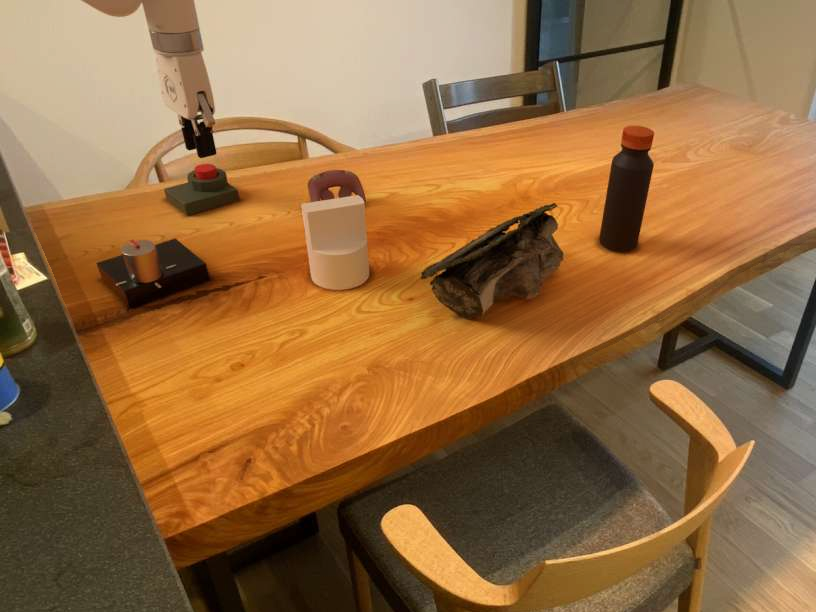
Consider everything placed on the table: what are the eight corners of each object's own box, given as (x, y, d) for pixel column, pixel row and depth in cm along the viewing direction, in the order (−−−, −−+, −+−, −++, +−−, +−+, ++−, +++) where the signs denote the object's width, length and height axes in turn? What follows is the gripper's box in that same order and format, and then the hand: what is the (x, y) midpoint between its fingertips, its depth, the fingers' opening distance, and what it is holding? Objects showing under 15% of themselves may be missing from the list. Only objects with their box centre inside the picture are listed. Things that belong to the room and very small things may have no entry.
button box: (187, 215, 121) (181, 194, 118) (165, 199, 125) (160, 178, 123) (241, 200, 127) (237, 179, 124) (219, 185, 131) (214, 164, 128)
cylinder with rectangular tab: (320, 294, 104) (311, 222, 96) (304, 266, 110) (294, 195, 102) (377, 282, 107) (372, 211, 100) (358, 255, 113) (353, 186, 106)
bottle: (590, 242, 121) (608, 129, 109) (613, 230, 125) (633, 120, 113) (622, 257, 118) (644, 142, 105) (644, 244, 122) (668, 132, 109)
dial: (168, 276, 100) (160, 246, 97) (138, 286, 97) (128, 256, 94) (154, 264, 102) (146, 235, 99) (124, 274, 100) (115, 244, 97)
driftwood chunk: (438, 358, 101) (495, 327, 89) (391, 283, 100) (442, 242, 88) (552, 281, 118) (612, 246, 106) (512, 216, 116) (569, 174, 104)
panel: (135, 316, 97) (128, 297, 95) (100, 280, 103) (93, 262, 101) (217, 286, 104) (213, 268, 102) (179, 254, 110) (175, 237, 108)
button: (202, 182, 123) (200, 173, 122) (192, 176, 125) (190, 166, 124) (221, 177, 125) (219, 168, 124) (211, 171, 127) (209, 162, 126)
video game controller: (362, 205, 131) (355, 167, 129) (368, 204, 127) (361, 165, 125) (310, 213, 127) (302, 174, 125) (315, 212, 123) (306, 172, 121)
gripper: (131, 32, 113) (159, 142, 124) (178, 56, 104) (203, 172, 116) (176, 26, 117) (199, 133, 129) (224, 49, 108) (245, 162, 120)
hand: (201, 151), depth 122 cm, fingers open, 3 cm apart
